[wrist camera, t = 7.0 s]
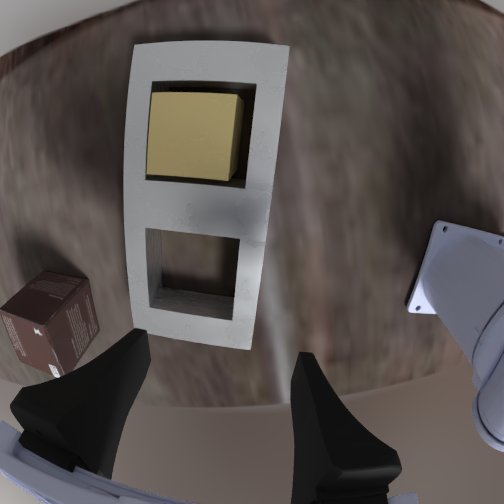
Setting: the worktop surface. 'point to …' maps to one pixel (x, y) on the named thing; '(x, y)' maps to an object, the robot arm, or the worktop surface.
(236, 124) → the pale yellow wooden cube
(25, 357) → the box
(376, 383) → the worktop surface
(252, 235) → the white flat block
